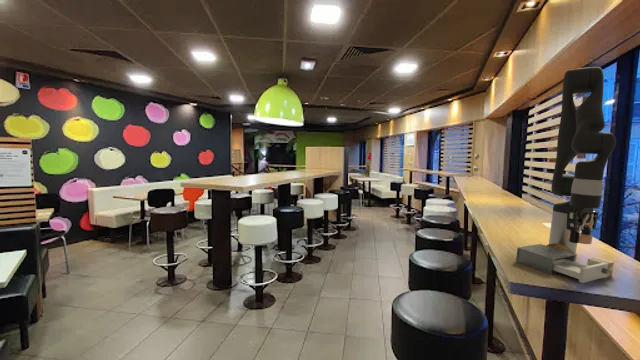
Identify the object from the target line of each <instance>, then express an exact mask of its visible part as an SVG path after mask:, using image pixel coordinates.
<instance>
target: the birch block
mask: <svg viewBox="0 0 640 360" xmlns="http://www.w3.org/2000/svg"><path fill="white" fill-rule="evenodd" d="M600 263H608V267H607V269H608V270H609V272H608V274H606V277H603V278H602V279H607V278H610V277H613V271H614V263H615V261H610V260H608V259H603V258H600V257H596V256H595V257H589V258H587V262H586V265H588V266H591V265H595V264H600Z"/></svg>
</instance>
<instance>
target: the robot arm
mask: <svg viewBox="0 0 640 360" xmlns="http://www.w3.org/2000/svg"><path fill="white" fill-rule="evenodd" d="M604 78H605V77H604V70H603V69H602V68H601V67H600V66H589V67H579V68H572V69H571V68H570V69H568V70H567V71H566V72H565V73H564V76H563V79H562V80H563V81H562V94H561V95H562V97H561V115H560V119H559V127H558V133H557V146H556V155H555V156H556V157H555V163H554V170H553V175H552V179H551V180H552V181H551V189H550V190H551V192H552V194H553V195H556V196H564V197H569V200H568V201H564V202H557V203H554V204H553V207H552V214H551V223H550V224H551V225H550V231H549V237H548V244H553V243H558V244H562V245H564V246H565V245H566V246H568V248H570V249H571V250H572V251H573V253H574V254H576V253H577V248H578V247H577V246H578V244H579V243H578V242H579V235H580V233H584V234H589V235H591V232H592V231H593V229H594V230H595V229H596V227H597V224H598V219H599V214H600V213H599V211H595V210H597V209H600V208H601V202H602V196H603V195H602V194H603V180H604V173H605V168H606V164H607V162H608V160H609V158H610V156H611V154H612V153H613V152H614V149H615V147H616V145H617V138H616V136H615V134H613V133H612V132H606V131H605V132H604V131H602V130H604V129H605V125H606V123H605V116H604V109H603V99H604V81H605V80H604ZM587 93H588V94H589V93H590V94H589V95H588V96H587V98H586V99H585V100H583V102H582V103H581V104H580V105H579V106H578V108H577V106H576V103H575V99H574V95H576V94H577V95H578V94H587ZM601 131H602V132H601ZM579 154H583V155H584V154H589V155H596V156H595V157H594V158H593V159H590V160H581V161H577V162H576V164H575V169H574V174H571V173H569V174H567V173H564V172H565V170H566V168H567V166H568V165H569V164H570V163H571V162H572V161H573V160H574V158H576V157H577V155H579ZM569 232H570V240H568V234H569ZM576 255H577V254H576Z"/></svg>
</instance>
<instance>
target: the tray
mask: <svg viewBox="0 0 640 360" xmlns="http://www.w3.org/2000/svg"><path fill="white" fill-rule="evenodd" d="M607 267H608V263H600V264H595V265H591V266H588V265H587V264H583V263H580V262H579V261H578V262H577V261H572V260H568V259H565V258H561V259H556V260H555V262H554V269H553V270H554V271H557V272H560V273H559V274H563V275H565V276H566V275H567V276H569V277H571V278H574V279H578V283H580V284H584V283H588V282H591V281H595V280H600V279H604V278H603V277H606V274H608V272H609V270H608V269H607Z"/></svg>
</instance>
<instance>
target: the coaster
mask: <svg viewBox="0 0 640 360" xmlns="http://www.w3.org/2000/svg"><path fill="white" fill-rule="evenodd" d="M579 233H580V235H579V242H578V243H577V244H583V245H592V242H593V237H594V236H593V235H592V234H590V235H589V234H584V233H581V232H579ZM568 240H570V232H569V234H568Z"/></svg>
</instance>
